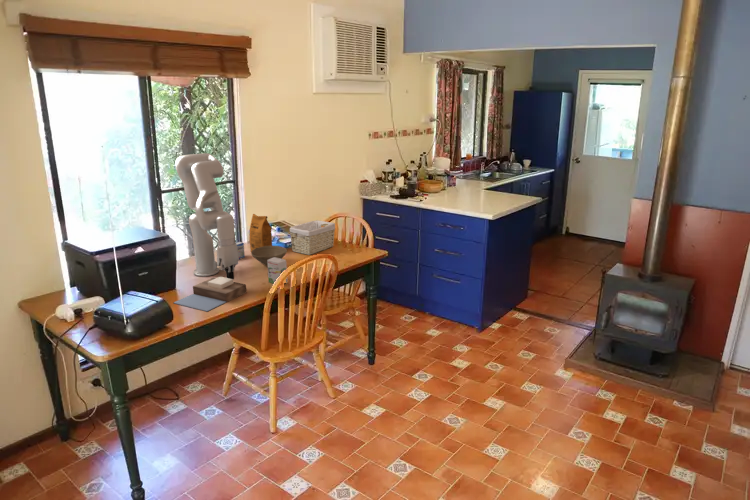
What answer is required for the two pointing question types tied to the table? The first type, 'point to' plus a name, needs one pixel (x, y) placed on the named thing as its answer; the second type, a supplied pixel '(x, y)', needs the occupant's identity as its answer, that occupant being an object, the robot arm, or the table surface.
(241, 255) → the medicine box
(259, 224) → the coffee package
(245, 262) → the table surface
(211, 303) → the mat
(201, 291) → the brown flat block
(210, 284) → the coaster
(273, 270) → the ink box
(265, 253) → the bowl
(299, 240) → the storage basket
